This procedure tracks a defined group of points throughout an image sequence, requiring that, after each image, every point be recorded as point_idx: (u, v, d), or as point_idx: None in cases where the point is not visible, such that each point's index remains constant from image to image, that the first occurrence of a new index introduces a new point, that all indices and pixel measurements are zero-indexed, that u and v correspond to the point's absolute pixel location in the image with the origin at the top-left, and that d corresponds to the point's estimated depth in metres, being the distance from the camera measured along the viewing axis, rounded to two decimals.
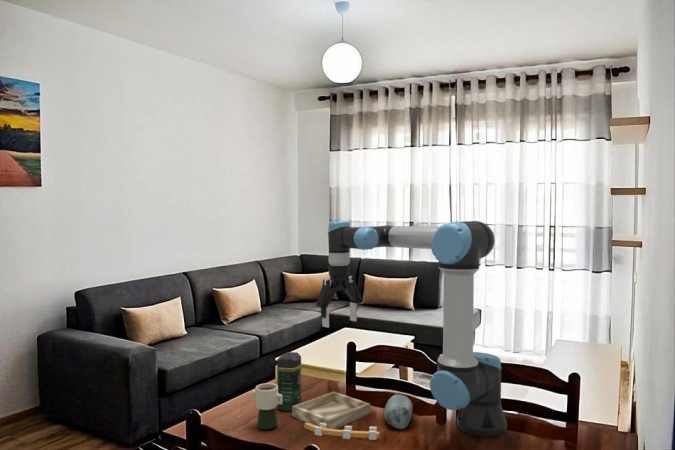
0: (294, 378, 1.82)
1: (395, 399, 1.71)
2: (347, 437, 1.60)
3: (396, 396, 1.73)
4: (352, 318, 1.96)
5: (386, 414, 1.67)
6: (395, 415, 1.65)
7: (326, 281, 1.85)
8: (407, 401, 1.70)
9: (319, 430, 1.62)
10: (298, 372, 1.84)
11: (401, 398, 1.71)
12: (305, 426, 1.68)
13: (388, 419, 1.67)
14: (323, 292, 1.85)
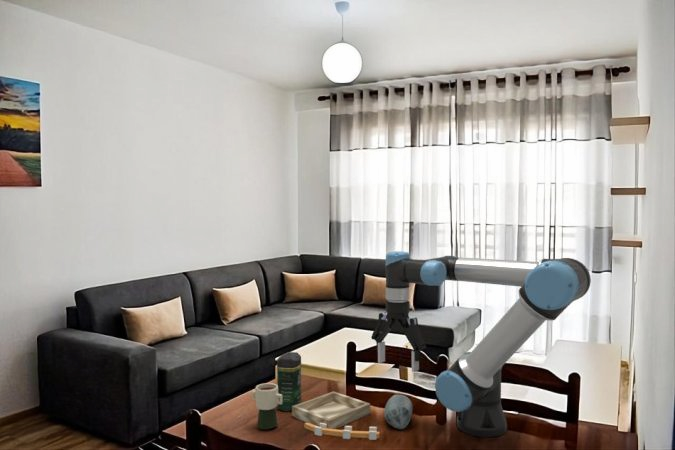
0: (294, 378, 1.82)
1: (395, 399, 1.70)
2: (347, 437, 1.60)
3: (396, 396, 1.73)
4: None
5: (386, 414, 1.67)
6: (395, 415, 1.65)
7: None
8: (407, 401, 1.70)
9: (319, 430, 1.62)
10: (298, 372, 1.84)
11: (401, 398, 1.71)
12: (305, 426, 1.68)
13: (388, 419, 1.67)
14: None
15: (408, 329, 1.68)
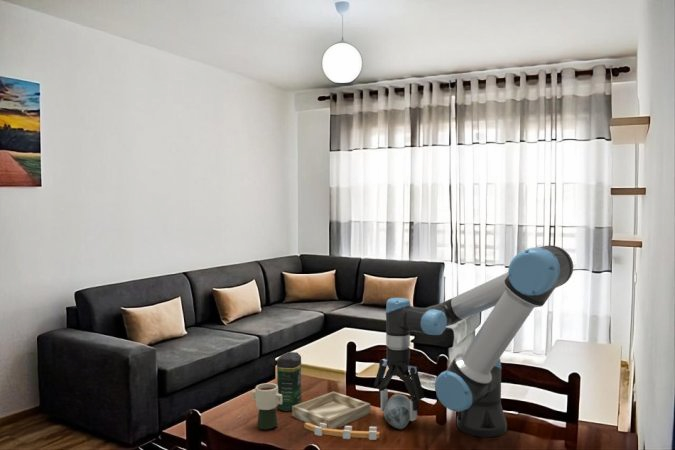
0: (294, 378, 1.82)
1: (395, 399, 1.71)
2: (347, 437, 1.60)
3: (396, 396, 1.73)
4: None
5: (386, 414, 1.67)
6: (395, 414, 1.65)
7: None
8: (407, 401, 1.70)
9: (319, 430, 1.62)
10: (298, 372, 1.84)
11: (401, 398, 1.71)
12: (305, 426, 1.68)
13: (388, 419, 1.67)
14: None
15: (408, 377, 1.69)
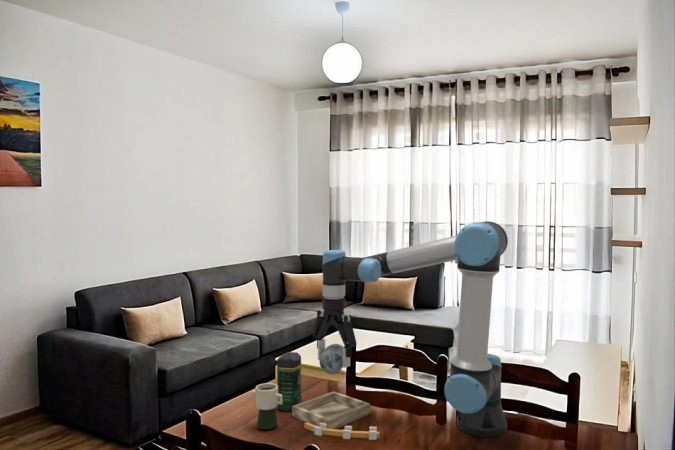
0: (294, 378, 1.82)
1: (330, 347, 1.76)
2: (347, 437, 1.60)
3: (332, 345, 1.79)
4: None
5: (320, 360, 1.73)
6: (328, 360, 1.71)
7: None
8: (341, 349, 1.76)
9: (319, 430, 1.62)
10: (298, 372, 1.84)
11: (336, 346, 1.77)
12: (305, 426, 1.68)
13: (321, 365, 1.73)
14: None
15: (342, 326, 1.74)
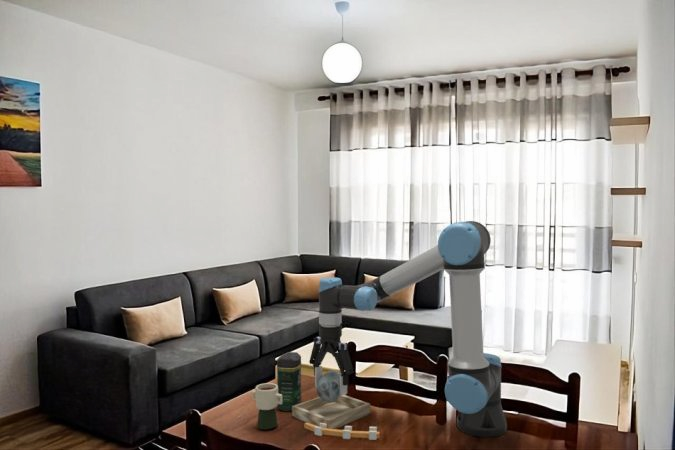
0: (294, 378, 1.82)
1: (327, 374, 1.77)
2: (347, 437, 1.60)
3: (329, 372, 1.79)
4: None
5: (317, 388, 1.74)
6: (324, 389, 1.71)
7: None
8: (338, 376, 1.77)
9: (319, 430, 1.62)
10: (298, 372, 1.84)
11: (333, 373, 1.77)
12: (305, 426, 1.68)
13: (318, 393, 1.73)
14: None
15: (339, 353, 1.75)
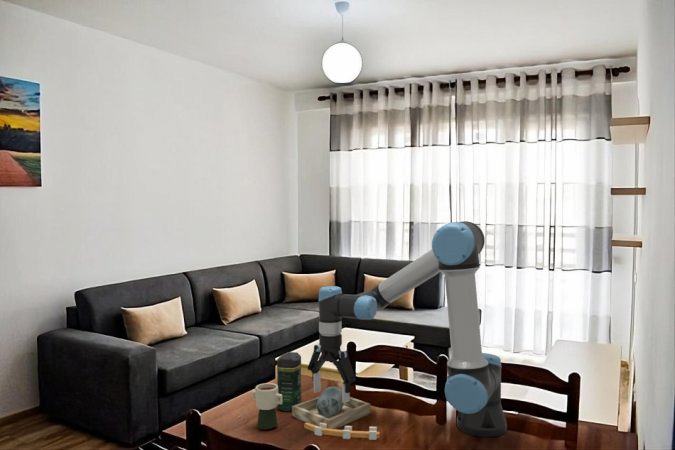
0: (294, 378, 1.82)
1: (327, 391, 1.77)
2: (347, 437, 1.60)
3: (329, 388, 1.80)
4: None
5: (317, 405, 1.74)
6: (324, 405, 1.72)
7: None
8: (338, 393, 1.77)
9: (319, 430, 1.62)
10: (298, 372, 1.84)
11: (333, 390, 1.77)
12: (305, 426, 1.68)
13: (318, 409, 1.73)
14: None
15: (340, 362, 1.75)
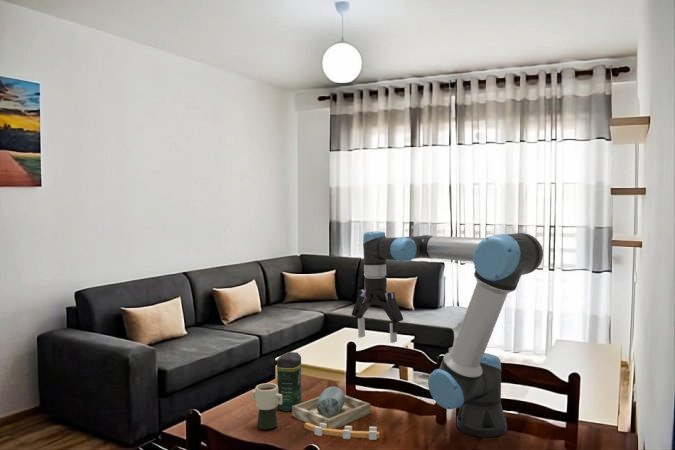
0: (294, 378, 1.82)
1: (327, 391, 1.77)
2: (347, 437, 1.60)
3: (329, 388, 1.80)
4: None
5: (317, 405, 1.74)
6: (324, 405, 1.72)
7: None
8: (338, 393, 1.77)
9: (319, 430, 1.62)
10: (298, 372, 1.84)
11: (333, 390, 1.77)
12: (305, 426, 1.68)
13: (318, 409, 1.73)
14: None
15: (386, 303, 1.79)
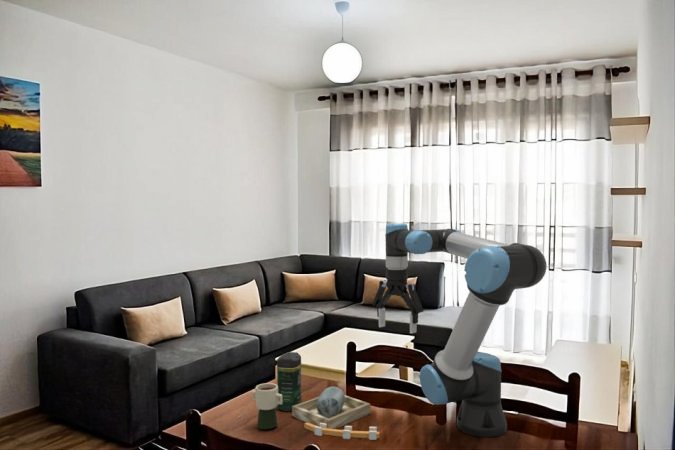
0: (294, 378, 1.82)
1: (327, 391, 1.77)
2: (347, 437, 1.60)
3: (329, 388, 1.80)
4: None
5: (317, 405, 1.74)
6: (324, 405, 1.72)
7: None
8: (338, 393, 1.77)
9: (319, 430, 1.62)
10: (298, 372, 1.84)
11: (333, 390, 1.77)
12: (305, 426, 1.68)
13: (318, 409, 1.73)
14: None
15: (406, 294, 1.82)
